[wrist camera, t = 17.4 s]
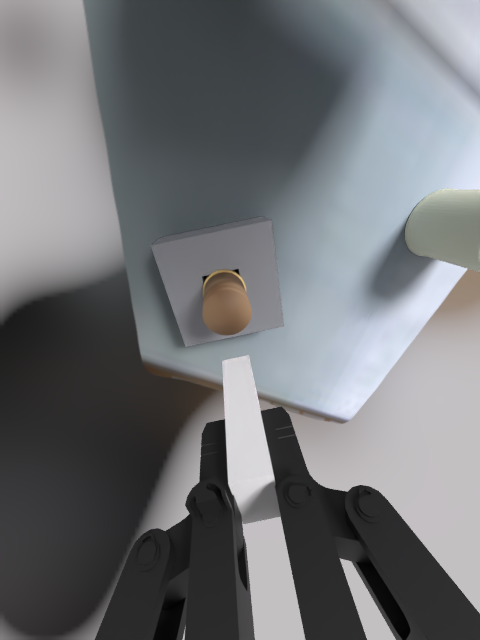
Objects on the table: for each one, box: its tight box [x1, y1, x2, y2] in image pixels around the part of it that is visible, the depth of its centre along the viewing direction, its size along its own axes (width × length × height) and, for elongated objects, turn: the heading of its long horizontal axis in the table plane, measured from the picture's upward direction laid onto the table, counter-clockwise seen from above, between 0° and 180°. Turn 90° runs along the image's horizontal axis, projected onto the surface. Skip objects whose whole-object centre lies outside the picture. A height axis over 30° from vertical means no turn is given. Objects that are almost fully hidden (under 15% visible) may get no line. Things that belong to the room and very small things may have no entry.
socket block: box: [151, 216, 284, 347], centre depth 34 cm, size 14×14×6 cm
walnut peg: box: [202, 269, 252, 335], centre depth 31 cm, size 5×5×13 cm
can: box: [405, 189, 480, 272], centre depth 31 cm, size 9×9×12 cm
